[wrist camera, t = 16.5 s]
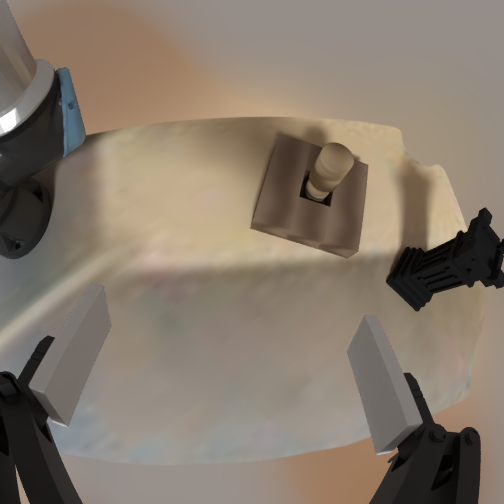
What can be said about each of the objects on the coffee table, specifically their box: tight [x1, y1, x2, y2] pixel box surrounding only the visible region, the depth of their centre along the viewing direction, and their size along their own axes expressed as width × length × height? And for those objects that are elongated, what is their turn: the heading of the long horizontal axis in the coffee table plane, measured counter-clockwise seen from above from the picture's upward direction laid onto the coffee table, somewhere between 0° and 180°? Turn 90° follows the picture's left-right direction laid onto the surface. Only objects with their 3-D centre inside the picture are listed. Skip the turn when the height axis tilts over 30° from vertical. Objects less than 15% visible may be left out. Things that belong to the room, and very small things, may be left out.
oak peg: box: [302, 143, 354, 203], centre depth 41 cm, size 4×4×13 cm
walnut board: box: [250, 134, 368, 258], centre depth 46 cm, size 16×16×4 cm
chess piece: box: [386, 208, 504, 311], centre depth 36 cm, size 8×8×20 cm
